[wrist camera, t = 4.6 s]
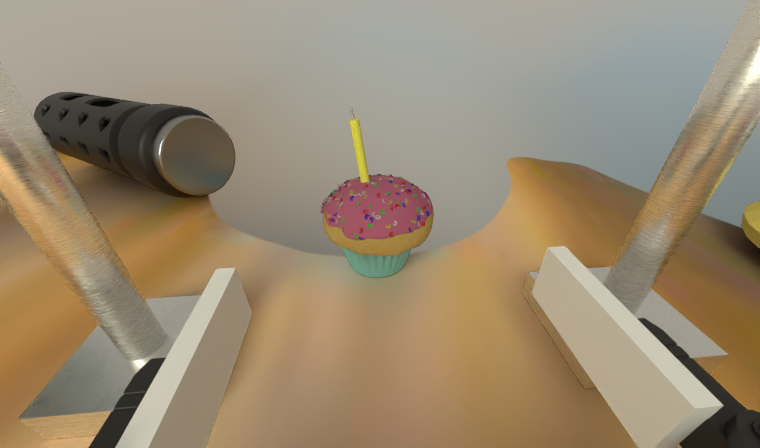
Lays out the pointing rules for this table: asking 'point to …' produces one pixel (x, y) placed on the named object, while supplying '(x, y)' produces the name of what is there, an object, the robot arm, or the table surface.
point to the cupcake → (376, 217)
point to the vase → (752, 222)
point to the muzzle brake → (141, 141)
